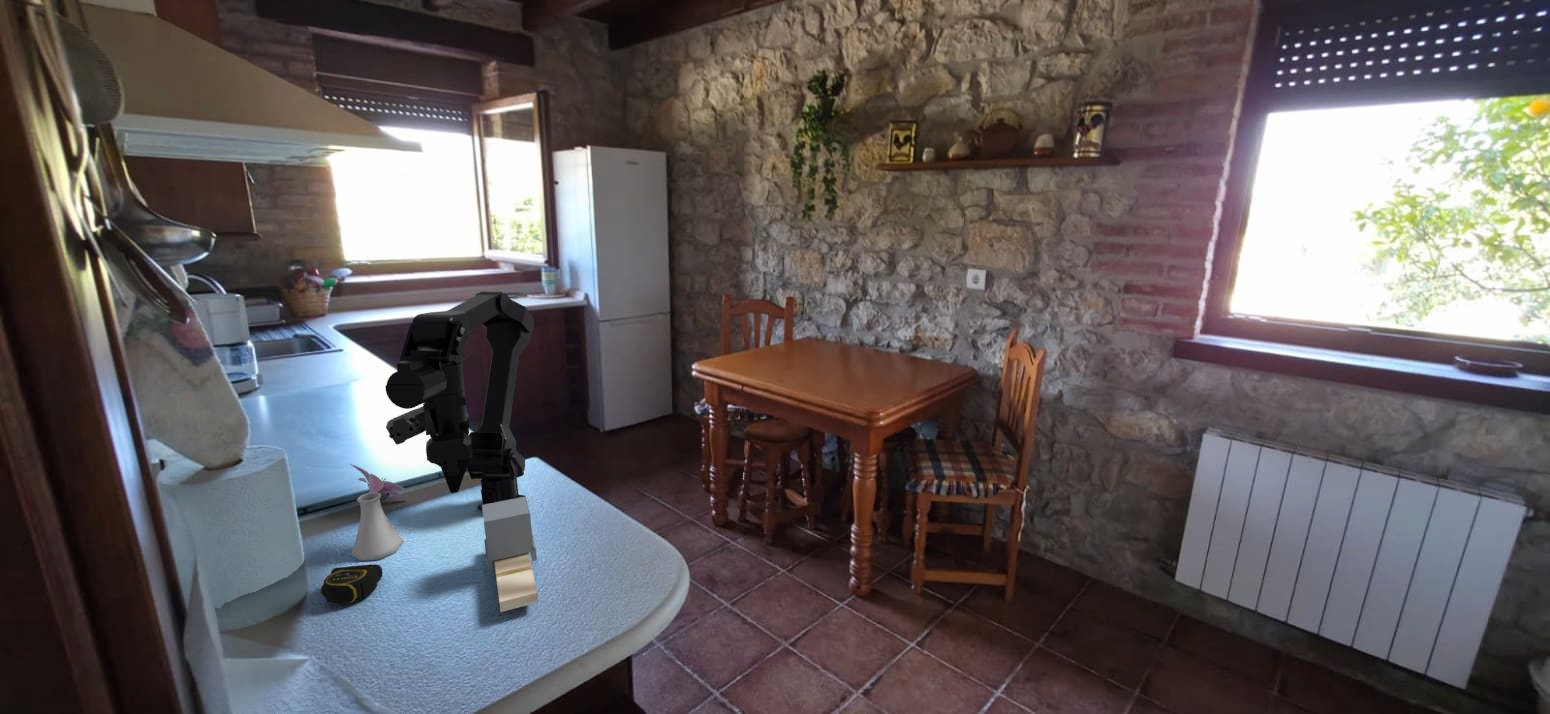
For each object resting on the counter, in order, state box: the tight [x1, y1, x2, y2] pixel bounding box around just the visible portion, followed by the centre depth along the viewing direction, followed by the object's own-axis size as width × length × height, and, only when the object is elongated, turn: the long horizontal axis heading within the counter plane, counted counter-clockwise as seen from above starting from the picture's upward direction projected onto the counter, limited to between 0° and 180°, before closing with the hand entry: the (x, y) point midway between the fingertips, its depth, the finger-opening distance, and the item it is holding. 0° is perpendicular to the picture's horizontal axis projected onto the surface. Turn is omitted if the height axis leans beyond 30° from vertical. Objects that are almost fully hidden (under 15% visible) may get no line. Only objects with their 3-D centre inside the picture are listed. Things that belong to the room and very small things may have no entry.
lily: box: [349, 463, 407, 502], centre depth 121 cm, size 11×11×9 cm
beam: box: [493, 552, 539, 613], centre depth 99 cm, size 20×5×3 cm, turn 26°
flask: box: [351, 491, 405, 561], centre depth 106 cm, size 7×7×10 cm
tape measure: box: [320, 564, 384, 605], centre depth 95 cm, size 7×7×4 cm
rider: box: [481, 496, 538, 572], centre depth 101 cm, size 6×7×8 cm
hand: (454, 482), depth 105 cm, fingers open, 9 cm apart
